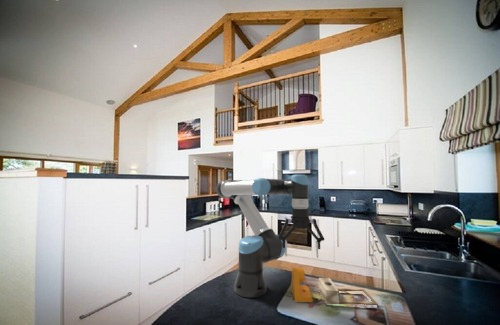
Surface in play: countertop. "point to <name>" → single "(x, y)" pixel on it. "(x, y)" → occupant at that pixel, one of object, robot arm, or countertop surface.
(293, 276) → the bracket
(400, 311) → the countertop surface
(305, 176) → the robot arm
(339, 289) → the seat holder
